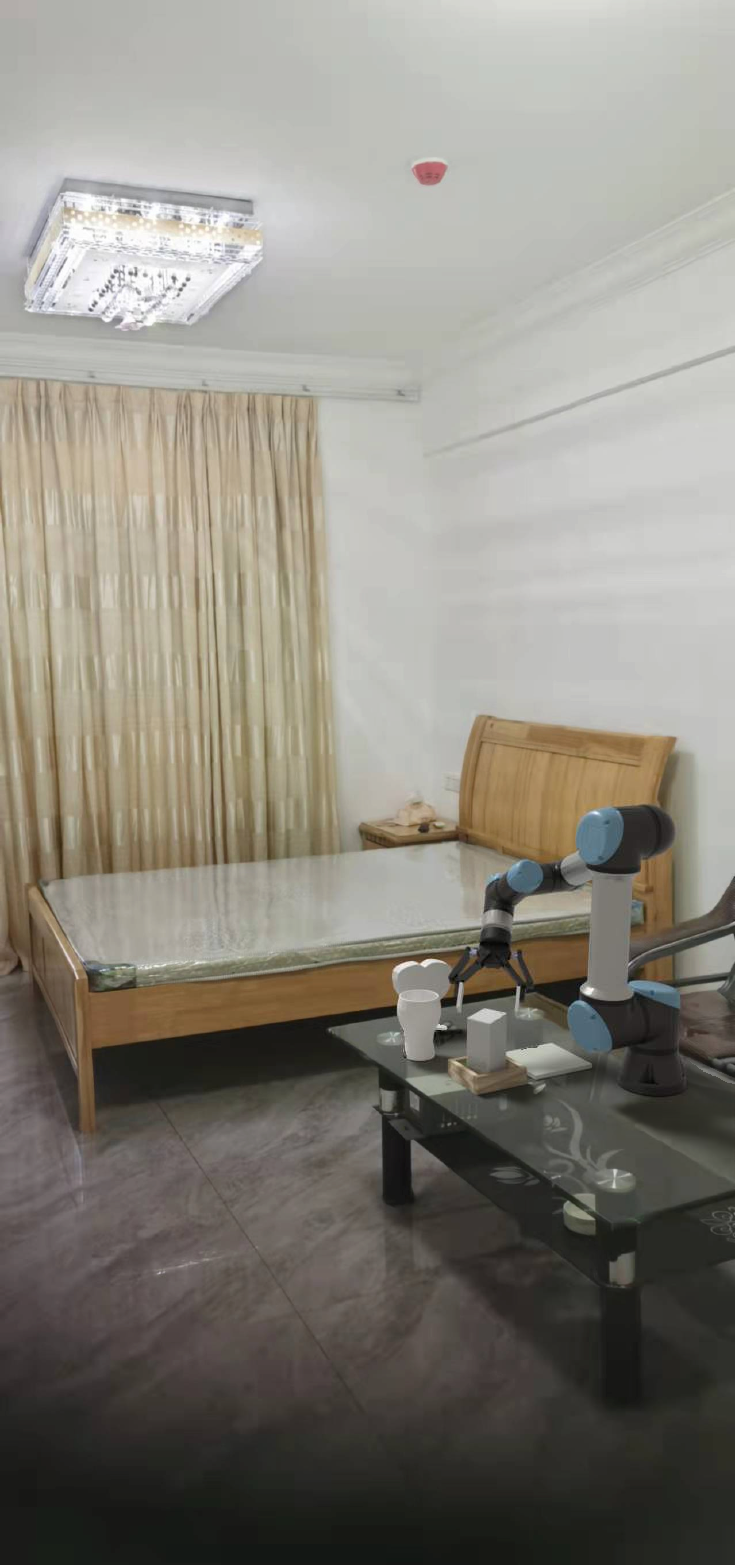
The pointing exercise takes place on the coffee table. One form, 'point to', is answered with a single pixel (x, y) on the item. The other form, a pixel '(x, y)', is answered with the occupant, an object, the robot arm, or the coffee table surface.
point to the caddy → (487, 1076)
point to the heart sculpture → (423, 978)
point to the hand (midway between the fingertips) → (487, 1012)
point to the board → (548, 1061)
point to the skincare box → (486, 1041)
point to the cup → (419, 1022)
